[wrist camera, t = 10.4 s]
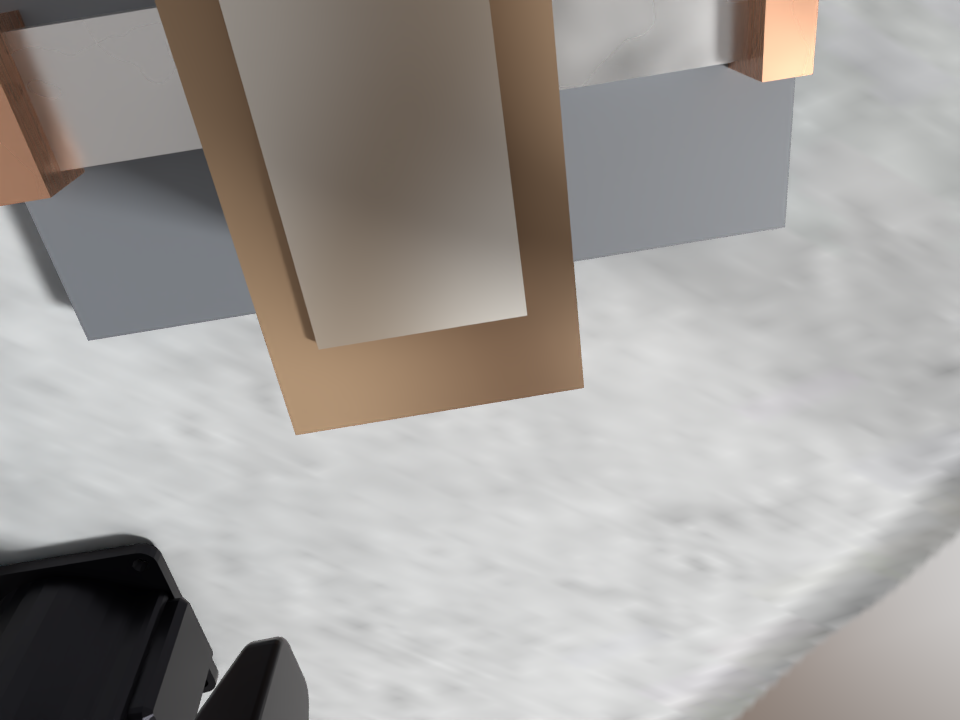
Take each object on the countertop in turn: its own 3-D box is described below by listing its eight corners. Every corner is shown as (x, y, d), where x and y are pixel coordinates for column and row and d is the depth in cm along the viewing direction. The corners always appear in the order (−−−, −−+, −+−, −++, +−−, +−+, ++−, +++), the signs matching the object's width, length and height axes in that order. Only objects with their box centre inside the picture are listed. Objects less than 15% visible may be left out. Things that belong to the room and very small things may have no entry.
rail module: (334, 261, 18) (294, 442, 11) (212, -213, 13) (36, -341, 7) (523, 230, 18) (586, 394, 11) (466, -255, 13) (521, -418, 7)
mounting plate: (105, 318, 19) (88, 340, 18) (-130, -217, 14) (-174, -229, 13) (764, 211, 19) (785, 226, 18) (795, -366, 14) (827, -390, 13)
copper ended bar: (38, 179, 16) (-1, 206, 15) (-33, 18, 15) (-86, 28, 13) (773, 59, 16) (812, 74, 15) (783, -114, 15) (828, -119, 13)
